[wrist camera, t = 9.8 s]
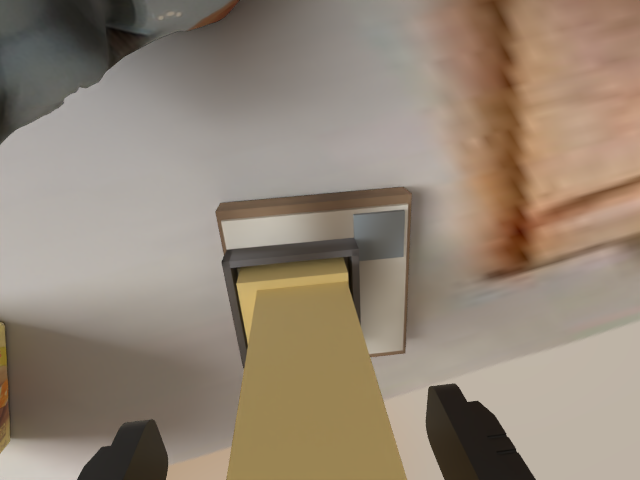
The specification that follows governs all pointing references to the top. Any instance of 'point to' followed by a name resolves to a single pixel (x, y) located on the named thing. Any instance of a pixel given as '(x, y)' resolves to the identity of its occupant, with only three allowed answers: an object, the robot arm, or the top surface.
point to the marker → (310, 393)
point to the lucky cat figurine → (79, 45)
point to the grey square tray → (329, 251)
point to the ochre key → (284, 280)
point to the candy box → (3, 393)
